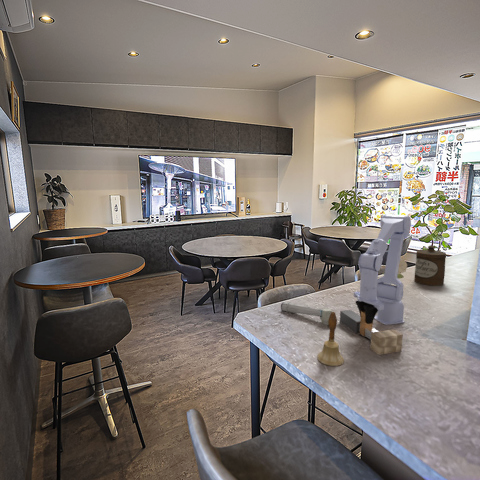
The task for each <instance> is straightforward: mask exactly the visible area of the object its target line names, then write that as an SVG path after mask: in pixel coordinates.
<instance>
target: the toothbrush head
mask: <svg viewBox="0 0 480 480" xmlns="http://www.w3.org/2000/svg"><path fill="white" fill-rule="evenodd" d="M280 310H281V311H282V312H287V313H294V314H300V315H306V316H307V315H309V316H315V317H319V319H320V323H321V324H323V325H324V326H329V325H328V321H329V317H330V315H331V312H333V310H332V309H331V308H319V307H317V308H316V307H313V306H309V305H303V304H302V305H301V304H296V303H292V302H281V304H280Z"/></svg>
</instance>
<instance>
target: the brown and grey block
mask: <svg viewBox="0 0 480 480" xmlns="http://www.w3.org/2000/svg"><path fill="white" fill-rule="evenodd" d="M358 331H359V332H360V333H359V334H360V335H361V336H363V337H366V338H367V339H369V340H370V341H371V333H372V332H379V330H377V329H376V328H375V327H374V322H373V323H371V324H367V323H366V313H365V311H361V319H360V323H358Z"/></svg>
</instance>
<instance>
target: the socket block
mask: <svg viewBox="0 0 480 480" xmlns="http://www.w3.org/2000/svg"><path fill="white" fill-rule="evenodd" d="M378 331H379V330H378ZM403 335H404V334H402V333H401V332H399V331H398V330H396V329H394V328H393V329H387V330H386V329H385V330H380V331H379V332H372V333H371V340H370V350H371V351H372V352H374V353H375V354H377V355H378V356H379V355H388V354H391V353H392V354H393V353H399V352H402V350H403V347H402V346H403Z"/></svg>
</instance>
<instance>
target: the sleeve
mask: <svg viewBox="0 0 480 480" xmlns="http://www.w3.org/2000/svg"><path fill="white" fill-rule="evenodd" d="M360 319H361V317H360V314H358V313H356V312H355V311H354V310H352V309H344V310H340V313H339V323H341V324H342V325H343V326H345V327H346V328H347V329H348V330H350V331H352V332H353V333H355V335H356V334H358V335H359V334H360V332H359V331H358V323H360Z"/></svg>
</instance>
